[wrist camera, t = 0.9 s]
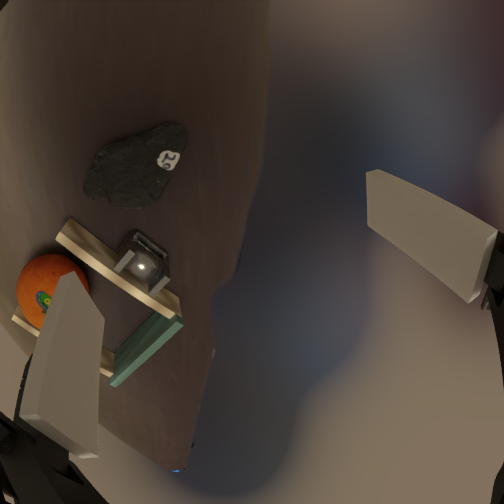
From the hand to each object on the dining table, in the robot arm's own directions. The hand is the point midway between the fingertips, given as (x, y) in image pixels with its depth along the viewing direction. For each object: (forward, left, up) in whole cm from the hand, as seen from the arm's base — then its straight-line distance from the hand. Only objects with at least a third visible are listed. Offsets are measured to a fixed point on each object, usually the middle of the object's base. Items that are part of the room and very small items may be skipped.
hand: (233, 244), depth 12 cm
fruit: (-2, -24, -24) cm, 34 cm away
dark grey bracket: (+5, -13, -24) cm, 28 cm away
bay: (+4, -24, -24) cm, 34 cm away
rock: (-3, -5, -25) cm, 25 cm away
